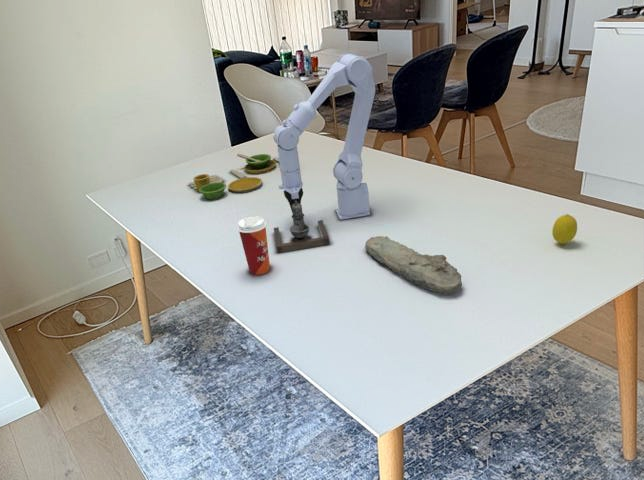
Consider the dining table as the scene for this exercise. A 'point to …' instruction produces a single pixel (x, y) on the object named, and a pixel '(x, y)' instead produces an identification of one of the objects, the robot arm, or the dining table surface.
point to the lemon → (564, 229)
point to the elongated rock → (416, 265)
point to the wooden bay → (303, 243)
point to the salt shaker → (298, 224)
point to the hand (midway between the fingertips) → (296, 213)
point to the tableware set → (256, 164)
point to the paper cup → (255, 244)
